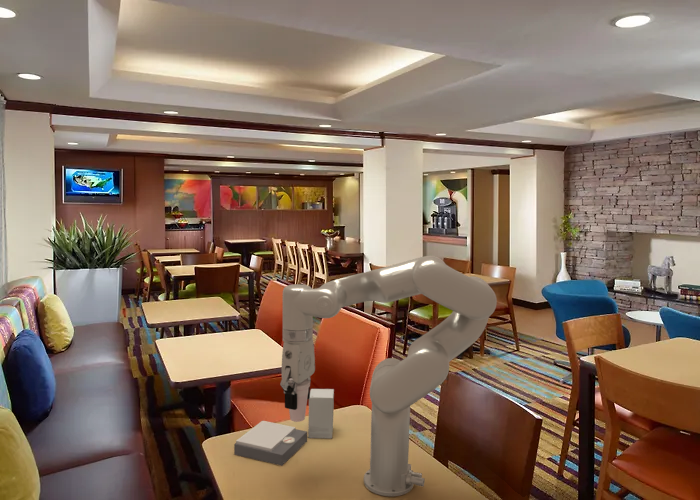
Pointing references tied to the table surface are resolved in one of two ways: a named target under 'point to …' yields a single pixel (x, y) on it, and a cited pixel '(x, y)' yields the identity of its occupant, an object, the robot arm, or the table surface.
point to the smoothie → (300, 401)
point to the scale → (270, 442)
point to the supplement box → (321, 413)
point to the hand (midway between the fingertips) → (297, 402)
